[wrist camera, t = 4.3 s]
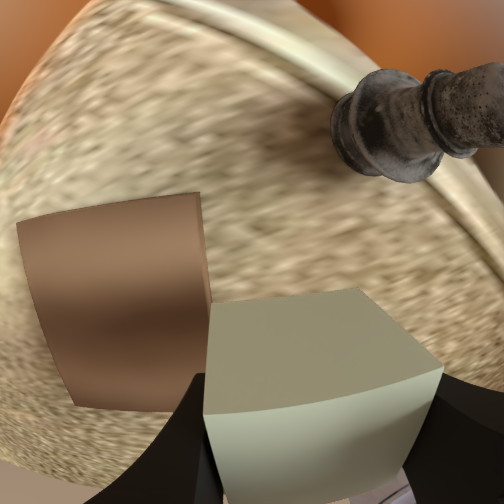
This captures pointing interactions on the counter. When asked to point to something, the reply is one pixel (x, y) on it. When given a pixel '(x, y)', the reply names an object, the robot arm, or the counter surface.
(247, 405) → the sage block
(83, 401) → the walnut block
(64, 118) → the counter surface
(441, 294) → the counter surface
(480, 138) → the grey stone chess piece
